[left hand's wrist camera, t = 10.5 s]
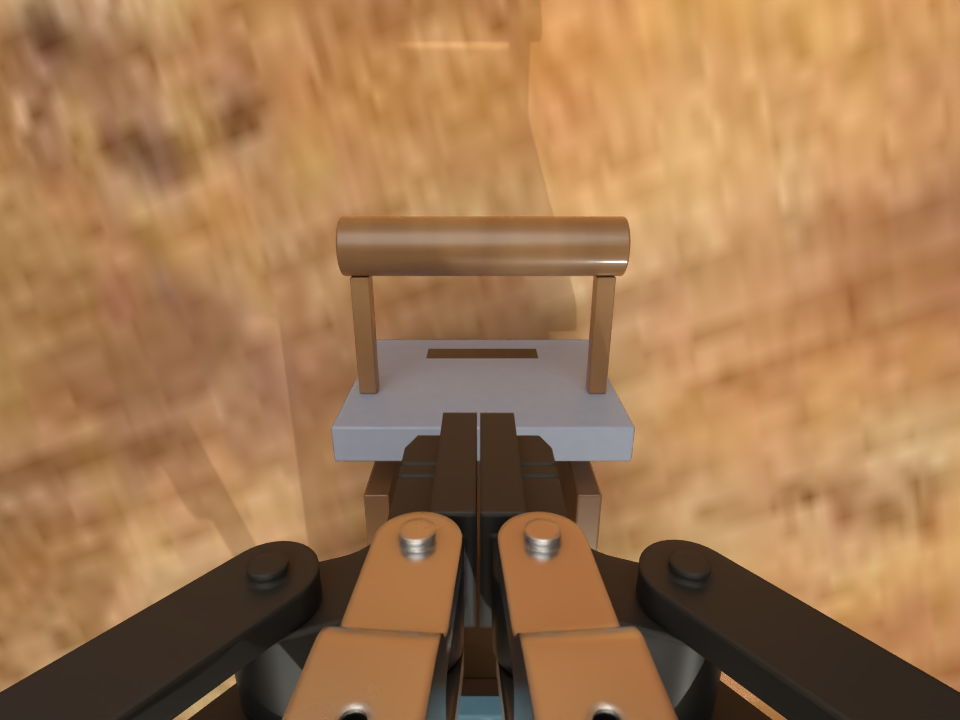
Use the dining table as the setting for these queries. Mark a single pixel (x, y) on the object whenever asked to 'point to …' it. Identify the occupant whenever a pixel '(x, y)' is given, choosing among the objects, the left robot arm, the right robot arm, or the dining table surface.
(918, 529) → the dining table surface
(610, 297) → the drawer
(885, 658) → the left robot arm
